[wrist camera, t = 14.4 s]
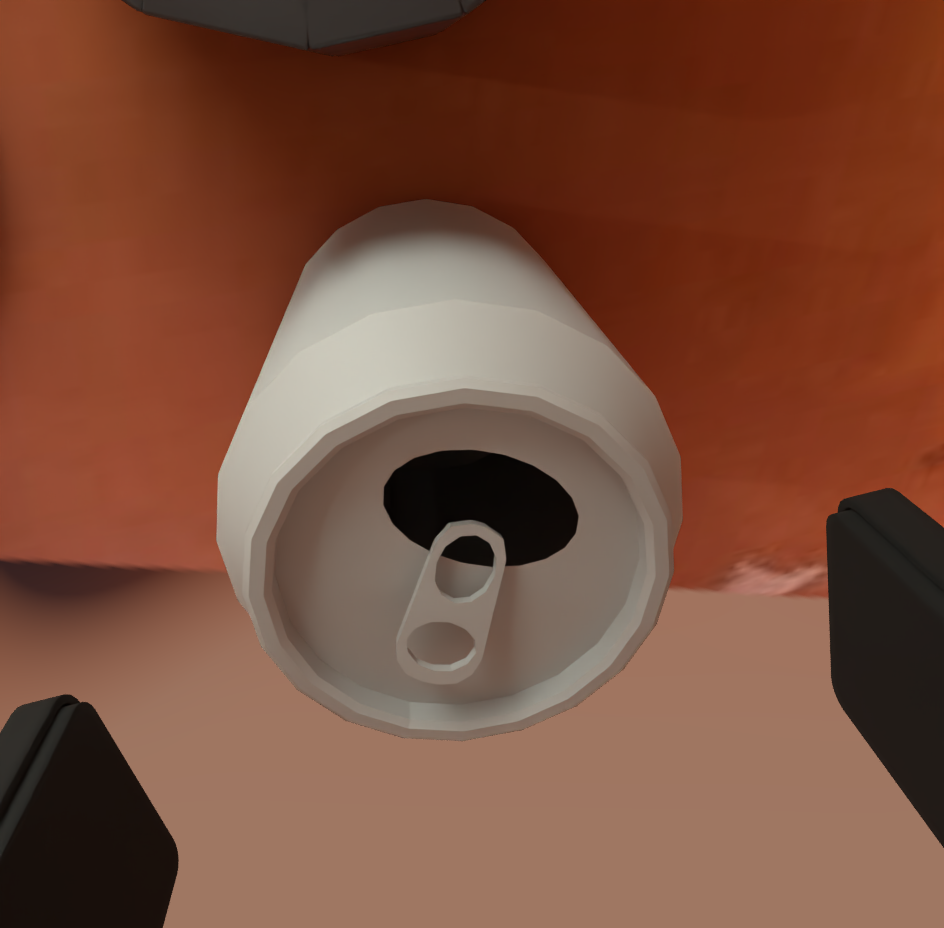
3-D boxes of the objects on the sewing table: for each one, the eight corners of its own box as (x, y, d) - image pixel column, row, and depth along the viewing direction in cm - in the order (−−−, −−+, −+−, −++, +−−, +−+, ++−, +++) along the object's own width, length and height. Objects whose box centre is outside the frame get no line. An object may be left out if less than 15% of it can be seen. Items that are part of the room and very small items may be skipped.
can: (601, 244, 21) (820, 426, 10) (508, 482, 24) (604, 812, 13) (325, 152, 19) (251, 257, 9) (262, 420, 22) (150, 741, 12)
